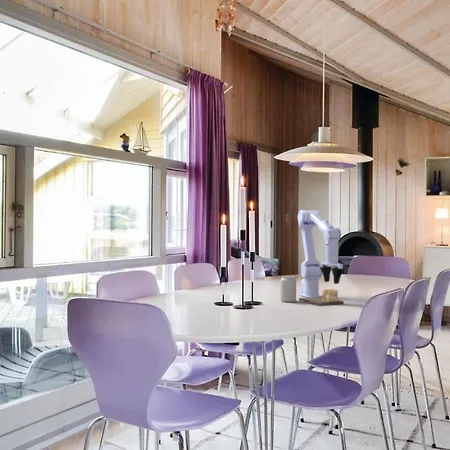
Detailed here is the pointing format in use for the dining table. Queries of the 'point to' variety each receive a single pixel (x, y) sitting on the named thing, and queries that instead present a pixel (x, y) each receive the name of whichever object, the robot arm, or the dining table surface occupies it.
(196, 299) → the dining table surface
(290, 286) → the can
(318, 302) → the serving board
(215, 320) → the dining table surface
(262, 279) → the dining table surface
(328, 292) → the oak block
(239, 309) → the dining table surface
